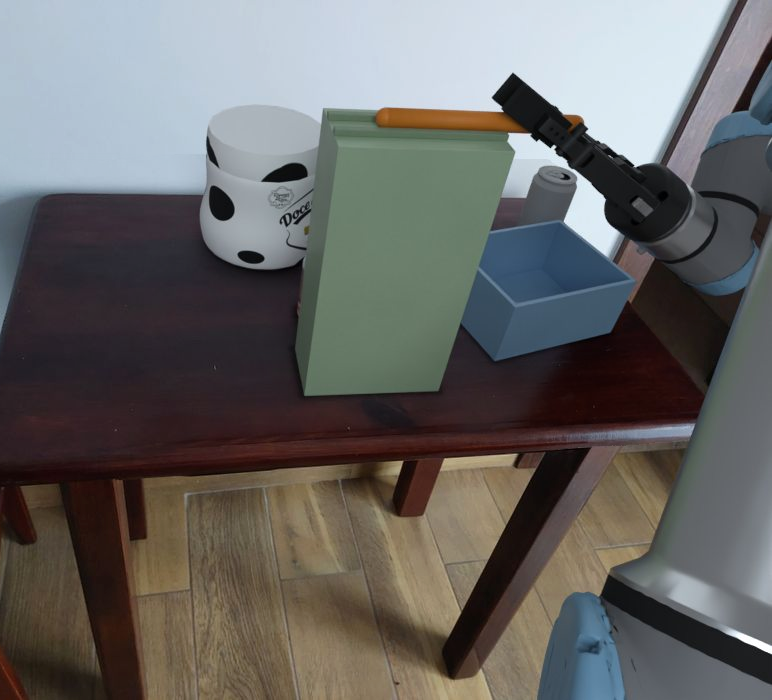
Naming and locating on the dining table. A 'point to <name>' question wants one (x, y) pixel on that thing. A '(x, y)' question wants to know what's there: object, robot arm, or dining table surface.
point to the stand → (392, 251)
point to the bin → (542, 290)
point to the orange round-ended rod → (454, 120)
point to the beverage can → (548, 196)
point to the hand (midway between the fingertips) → (508, 92)
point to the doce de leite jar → (259, 186)
